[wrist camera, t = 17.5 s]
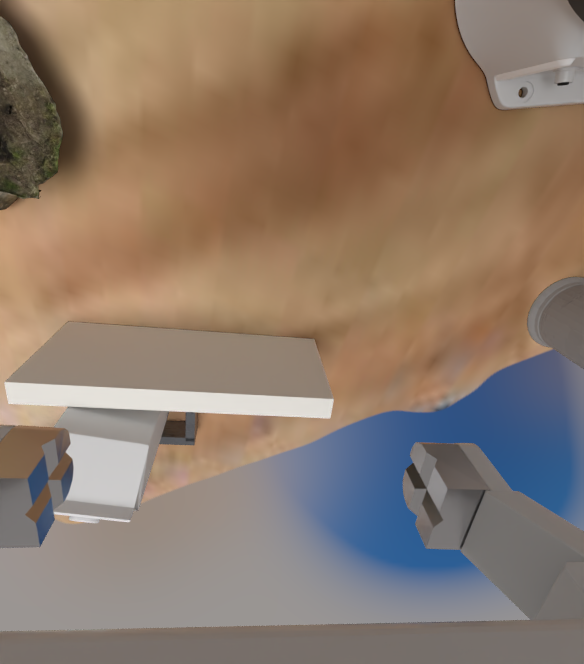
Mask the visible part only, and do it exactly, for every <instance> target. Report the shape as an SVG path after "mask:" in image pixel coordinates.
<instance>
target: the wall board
mask: <svg viewBox="0 0 584 664" xmlns="http://www.w3.org/2000/svg"><path fill="white" fill-rule="evenodd" d="M4 383H5V388H6V393H7V399H8V404H23V405H46V406H68V407H90V408H112V409H134V410H156V411H178V412H200V413H222V414H244V415H266V416H288V417H310V418H330V417H331V411H332V406H333V401H334V398H333V395H332V392H331V389H330V386H329V383H328V380H327V377H326V374H325V371H324V367H323V364H322V361H321V358H320V355H319V352H318V349H317V346H316V343H315V340H314V339H308V338H294V337H280V336H266V335H251V334H237V333H223V332H209V331H195V330H181V329H167V328H153V327H139V326H125V325H111V324H97V323H83V322H69V321H68V322H67V323H66V324H65V325H64V326H63V327H62V328H61V329H60V330H59V331H57V332H56V333H55V334H54V335H53V336H52V337H51V338H50V339H49V340H48V341H47V342H46V343H45V344H44V345H43V346H42V347H41V348H40V349H39V350H38V351H36V352H35V353H34V354H33V355H32V356H31V357H30V358H29V359H28V360H27V361H26V362H25V363H24V364H23V365H22V366H21V367H20V368H19V369H18V370H17V371H15V372H14V373H13V374H12V375H11V376H10V377H9V378H8V379H7V380H6V381H5V382H4Z"/></svg>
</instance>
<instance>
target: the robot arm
mask: <svg viewBox="0 0 584 664" xmlns="http://www.w3.org/2000/svg"><path fill="white" fill-rule="evenodd" d="M455 8H456V16H457V22H458V26H459V30H460V33H461V36H462V39H463V41H464V43H465V46H466V48H467V49H468V51H469V53H470V54H471V56H472V57H473V59H474V60H475V61H476V63H477V64H478V65H479V66H480V68H481V69H482V71H483V72H484V74H485V76H486V78H487V83H488V87H489V92H490V95H491V99H492V101H493V103H494V105H495V106H496V107H497V108H498V109H501V110H511V109H524V108H537V107H549V106H562V105H575V104H584V0H455ZM520 89H522V90H523V95H522V96H521V98H520V97H519V95H518V92H519V90H520ZM70 444H71V442H70V436H69V431H68V430H66V429H65V428H52V427H36V426H20V425H18V426H15V425H0V548H19V547H20V548H23V547H40V546H41V544H42V542H43V541H44V539H45V537H46V535H47V533H48V531H49V529H50V528H51V525H52V524H53V522H54V520H55V518H54V511H53V510H54V509H55V508H57V507H58V506H60V505H61V504H62V503H64V501H65V499H66V497H67V495H68V493H69V491H70V487H71V483H72V480H73V469H74V467H73V459H72V458H71V457H70V456H69V455H68V454H67V453H66V450H67V449H68V447H69V445H70ZM410 456H411V459H412V461H413V463H412V464H411V465H410V466H409V467H408V468H407V469H406V470H405V474H404V478H403V493H404V497H405V501H406V504H407V506H408V508H409V509H410V510H411V511H412V512H413V513H415V514H416V515H417V516H418V517H417V520H416V523H415V525H416V526H417V529H418V531H419V534H420V536H421V538H422V540H423V542H424V545H425V547H426V548H427V549H456V550H461V552H462V553H463V554H464V555H465V556H466V557H467V558H468V559H469V560H470V561H471V562H472V563H473V564H474V565H475V566H476V567H478V569H479V570H480V571H481V572H482V573H483V574H484V575H485V576H486V577H487V578H488V579H489V580H491V581H492V583H494V584H495V585H496V586H497V587H498V588H499V589H500V590H501V591H502V592H503V593H504V594H505V595H506V596H507V597H508V598H509V599H510V600H511V601H512V602H513V603H514V604H515V605H516V606H517V607H518V608H519V609H520V610H521V611H522V612H523V613H524V614H525V615H526V616H527V617H528V618H530V620H511V621H462V622H418V623H375V624H374V623H373V624H328V625H283V626H282V625H281V626H234V627H186V628H141V629H140V628H139V629H97V630H95V629H93V630H48V631H47V630H46V631H3V632H2V631H1V632H0V664H584V531H582V530H580V529H579V528H577V527H575V526H574V525H572V524H570V523H569V522H567V521H566V520H564V519H563V518H561V517H559V516H558V515H556V514H554V513H553V512H551V511H550V510H548V509H546V508H545V507H543V506H542V505H540V504H538V503H537V502H535V501H533V500H532V499H530V498H529V497H527V496H525V495H524V494H522V493H520V492H519V491H512V490H511V488H510V487H509V486H508V484H507V483H506V482H505V480H504V479H503V478H502V477H501V475H500V474H499V473H498V471H497V470H496V469H495V467H494V466H493V465H492V463H491V462H490V461H489V460H488V458H487V457H486V456H485V454H484V453H483V452H482V450H481V449H480V448H479V447H478V446H477V445H475V444H473V443H454V444H447V443H418V442H417V443H415V444H414V446H413V447H412V450H411V453H410Z"/></svg>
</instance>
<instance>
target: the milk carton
mask: <svg viewBox="0 0 584 664" xmlns="http://www.w3.org/2000/svg"><path fill="white" fill-rule="evenodd" d="M168 414H169V411H156V410H134V409H112V408H90V407H68V408H67V409H66V410H65V412H64V413H63V415H62V416H61V418H60V419H59V420H58V422H57V423H56V425H55V426H54V427H53V428H65V429H66V430H68V431H69V436H70V442H71V444H70V445H69V447H68V449H67V450H66V453H67V454H68V455H69V456H70V457H71V458H72V459H73V467H74V469H73V480H72V483H71V487H70V491H69V493H68V495H67V497H66V499H65V501H64V503H62V504H61V505H60V506H58V507H57V508H55V509H54V510H53V511H54V514H59V515H68V516H70V517H69V520H71V521H78V522H88V523H99V520H100V519H104V520H113V521H121V522H130V520H131V517H132V514H133V511H138V510H139V507H140V504H141V501H142V497H143V494H144V491H145V488H146V485H147V481H148V478H149V475H150V472H151V468H152V465H153V462H154V459H155V456H156V452H157V449H158V446H159V443H160V440H161V436H162V433H163V430H164V427H165V423H166V420H167V417H168Z"/></svg>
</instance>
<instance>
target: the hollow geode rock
mask: <svg viewBox="0 0 584 664" xmlns="http://www.w3.org/2000/svg"><path fill="white" fill-rule="evenodd" d="M62 137H63V132H62V128H61V122H60V117H59V115H58V113H57V112H56V104H55V102H54V101H53V99H52V98H51V96H50V94H49V93H48V91H47V88H46V87H45V85H44V84H43V82H42V81H41V80H40V78H39V77H38V75H37V74H36V73H35V71H34V69H33V67H32V64H31V63H30V61H29V59H28V56H27V54H26V53H25V52H24V50H23V49H22V48H21V46H20V44H19V41H18V37H17V34H16V32H15V31H14V29H13V28H12V26H11V24H10V23H9V22H8V21H7V20H5V19H4V18H2V17H1V16H0V210H3V209H7V208H8V207H9V206H10V205H11V204H12V203H13V202H14V201H15V200H16V199H17V198H18V197H19V198H22V199H26V198H37V199H39V192H40V191H41V190H39V189H38V184H42V183H44V182H45V181H46V180H47V179H49V178H51V177H53V176H54V175H55V174H56V173H57V172H58V158H59V147H60V145H61V142H62ZM40 197H41V196H40Z"/></svg>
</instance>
